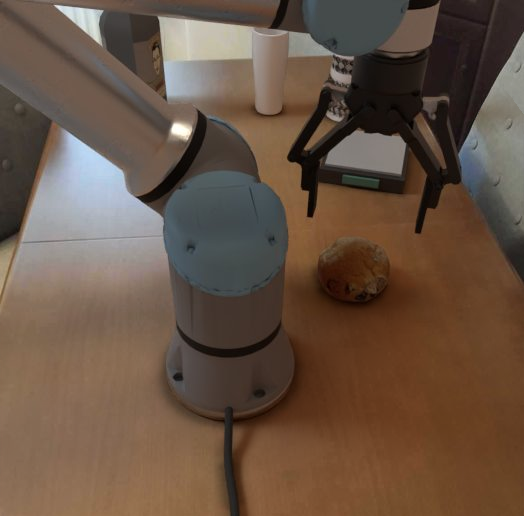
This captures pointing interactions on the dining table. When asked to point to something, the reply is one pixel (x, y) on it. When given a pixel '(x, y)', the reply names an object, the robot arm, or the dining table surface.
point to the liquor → (135, 45)
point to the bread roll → (353, 269)
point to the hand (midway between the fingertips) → (364, 219)
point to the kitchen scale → (367, 162)
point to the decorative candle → (340, 83)
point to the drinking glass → (269, 68)
